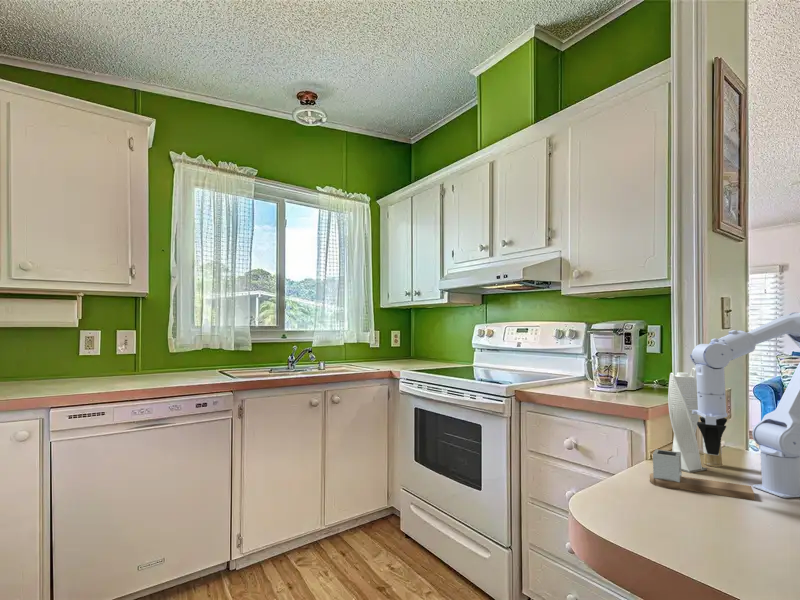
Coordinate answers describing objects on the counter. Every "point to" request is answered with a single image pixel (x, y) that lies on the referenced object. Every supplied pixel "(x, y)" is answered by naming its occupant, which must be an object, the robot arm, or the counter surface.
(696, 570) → the counter surface
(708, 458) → the sprinkles bottle
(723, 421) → the robot arm
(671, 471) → the steel collar
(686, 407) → the skyscraper
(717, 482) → the walnut base
